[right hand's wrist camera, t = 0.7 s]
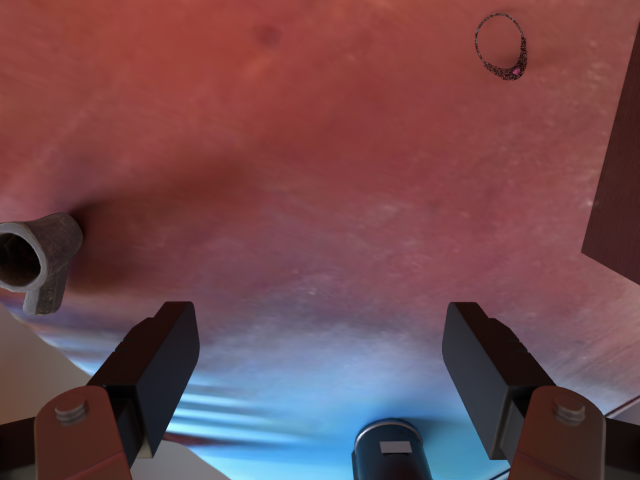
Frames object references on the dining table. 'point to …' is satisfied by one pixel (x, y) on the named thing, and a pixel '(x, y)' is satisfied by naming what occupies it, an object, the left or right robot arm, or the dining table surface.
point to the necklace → (517, 70)
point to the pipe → (38, 259)
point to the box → (620, 186)
